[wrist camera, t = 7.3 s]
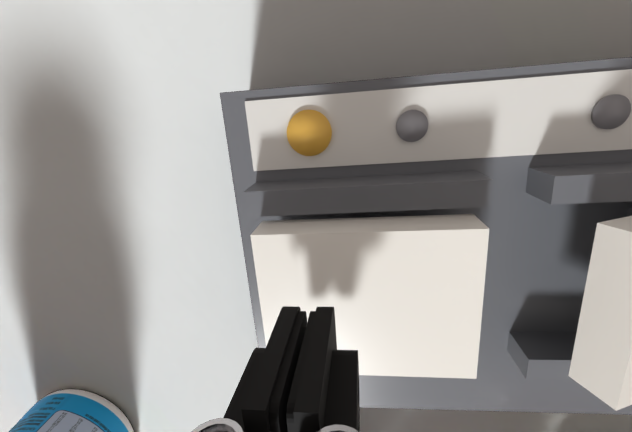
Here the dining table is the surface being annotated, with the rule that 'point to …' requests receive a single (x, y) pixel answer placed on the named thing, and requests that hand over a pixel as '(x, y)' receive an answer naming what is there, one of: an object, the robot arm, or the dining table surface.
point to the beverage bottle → (73, 414)
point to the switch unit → (458, 200)
